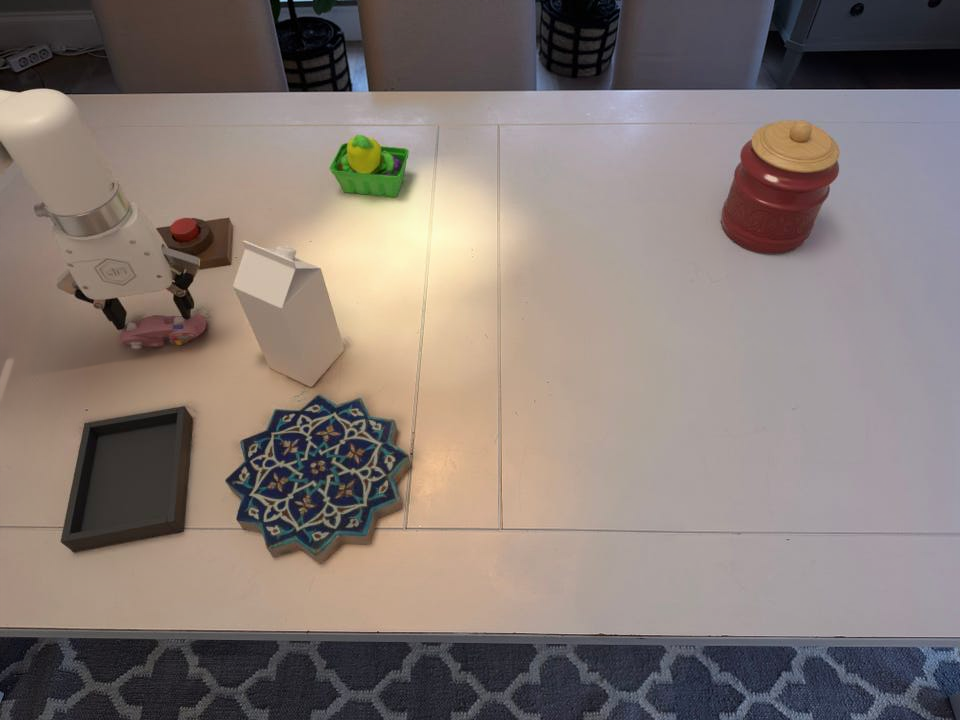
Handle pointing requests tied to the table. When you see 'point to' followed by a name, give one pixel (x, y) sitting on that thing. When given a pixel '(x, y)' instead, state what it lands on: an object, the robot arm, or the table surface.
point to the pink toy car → (162, 330)
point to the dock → (129, 479)
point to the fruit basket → (369, 167)
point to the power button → (185, 230)
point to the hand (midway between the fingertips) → (155, 316)
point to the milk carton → (288, 312)
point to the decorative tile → (319, 477)
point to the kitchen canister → (780, 186)
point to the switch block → (204, 243)
